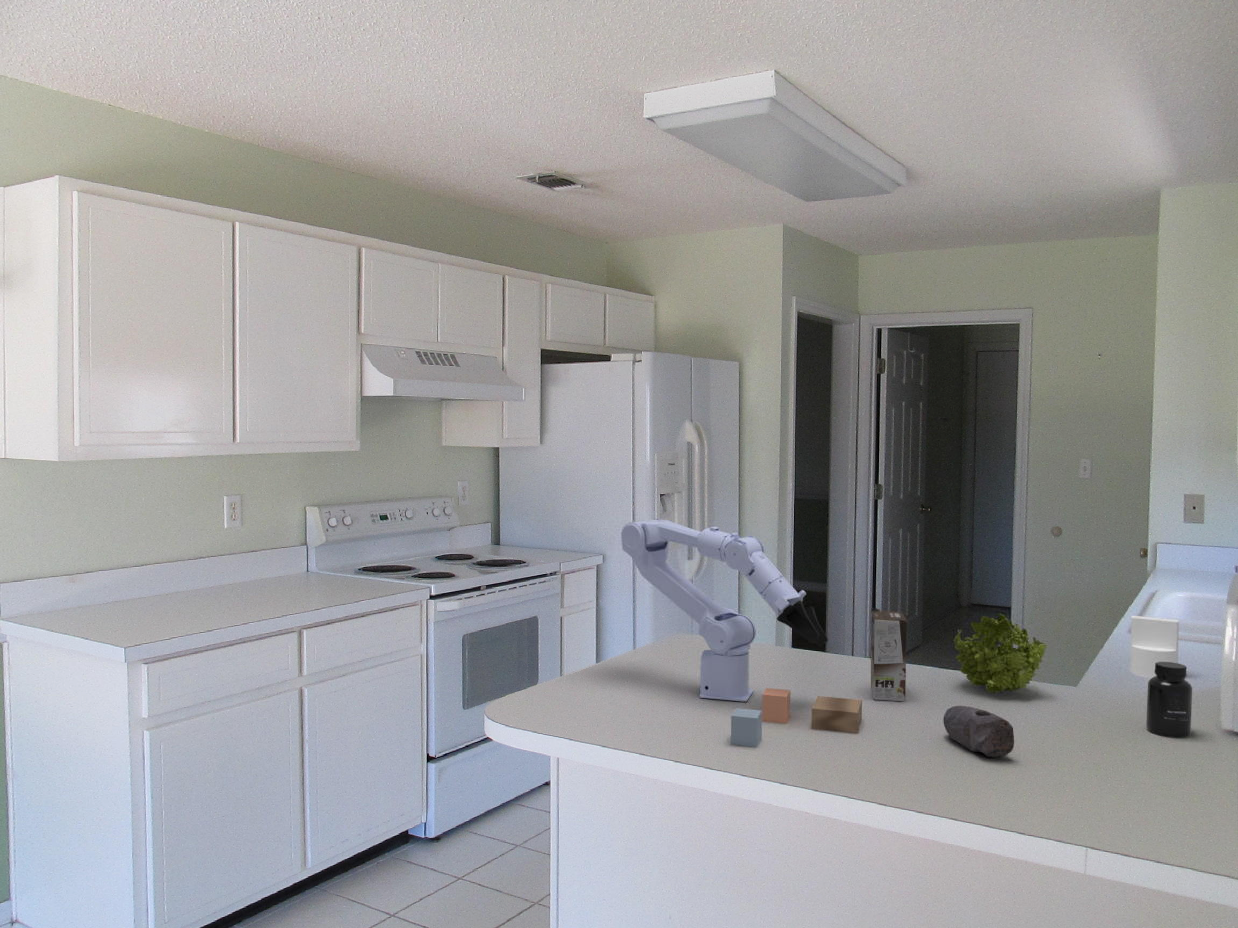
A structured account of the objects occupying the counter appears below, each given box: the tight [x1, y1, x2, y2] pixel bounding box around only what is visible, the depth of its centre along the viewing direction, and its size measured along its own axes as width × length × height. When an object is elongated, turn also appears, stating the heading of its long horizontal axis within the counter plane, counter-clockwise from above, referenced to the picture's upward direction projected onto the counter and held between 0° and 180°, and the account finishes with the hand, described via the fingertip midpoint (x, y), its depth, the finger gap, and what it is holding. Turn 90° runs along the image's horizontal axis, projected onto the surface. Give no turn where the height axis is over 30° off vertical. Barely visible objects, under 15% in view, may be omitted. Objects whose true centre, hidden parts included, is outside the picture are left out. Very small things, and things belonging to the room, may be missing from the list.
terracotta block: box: [761, 687, 791, 725], centre depth 176 cm, size 4×4×5 cm
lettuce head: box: [953, 613, 1047, 694], centre depth 194 cm, size 18×16×16 cm
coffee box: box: [870, 610, 908, 702], centre depth 191 cm, size 9×6×16 cm
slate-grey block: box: [730, 707, 763, 748], centre depth 164 cm, size 4×4×5 cm
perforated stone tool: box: [942, 705, 1015, 758], centre depth 160 cm, size 15×5×7 cm, turn 17°
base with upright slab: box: [1129, 615, 1180, 679], centre depth 206 cm, size 9×9×12 cm
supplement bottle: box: [1145, 662, 1193, 738], centre depth 168 cm, size 7×7×12 cm
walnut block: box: [811, 695, 863, 734], centre depth 173 cm, size 8×8×4 cm
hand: (819, 641), depth 177 cm, fingers open, 7 cm apart
